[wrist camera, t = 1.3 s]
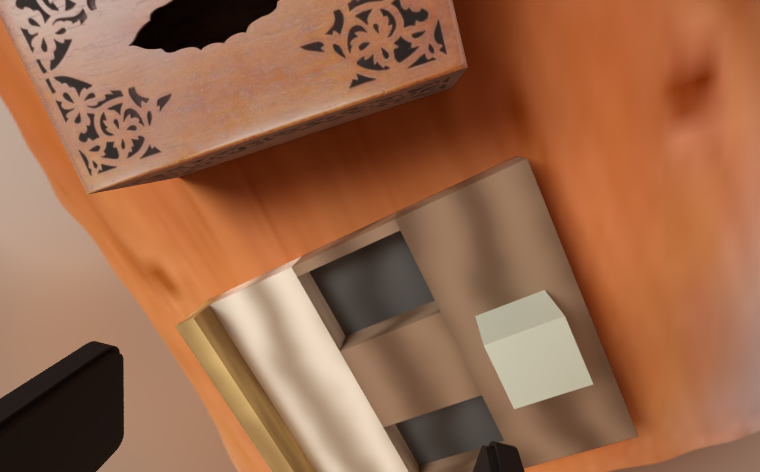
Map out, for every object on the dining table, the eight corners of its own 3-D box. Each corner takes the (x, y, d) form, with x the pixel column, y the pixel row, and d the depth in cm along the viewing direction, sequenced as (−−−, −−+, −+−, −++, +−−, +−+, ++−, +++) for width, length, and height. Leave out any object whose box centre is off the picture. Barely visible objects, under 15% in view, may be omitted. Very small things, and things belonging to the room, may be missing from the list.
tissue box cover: (404, -117, 27) (394, -257, 17) (453, 87, 30) (467, 67, 20) (109, 11, 31) (-29, -42, 22) (180, 177, 35) (87, 194, 25)
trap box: (517, 156, 31) (537, 160, 25) (621, 411, 36) (655, 460, 31) (209, 298, 37) (175, 326, 32) (335, 496, 43) (323, 547, 37)
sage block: (544, 289, 30) (565, 316, 26) (569, 349, 31) (593, 384, 27) (475, 316, 32) (483, 345, 27) (502, 372, 33) (514, 409, 28)
